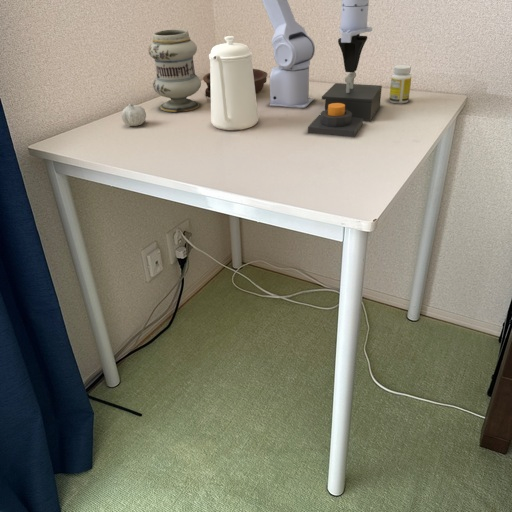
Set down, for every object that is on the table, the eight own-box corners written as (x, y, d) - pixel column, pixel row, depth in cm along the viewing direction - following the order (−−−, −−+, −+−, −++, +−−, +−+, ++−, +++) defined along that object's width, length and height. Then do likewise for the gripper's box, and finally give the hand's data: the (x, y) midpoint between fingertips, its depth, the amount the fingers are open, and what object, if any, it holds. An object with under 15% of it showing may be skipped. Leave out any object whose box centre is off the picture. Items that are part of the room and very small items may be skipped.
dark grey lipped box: (324, 118, 114) (325, 99, 112) (337, 103, 124) (338, 86, 121) (370, 122, 110) (371, 102, 108) (379, 106, 120) (381, 88, 118)
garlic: (134, 130, 112) (130, 107, 110) (118, 126, 115) (114, 104, 112) (152, 122, 117) (149, 100, 114) (136, 119, 119) (132, 98, 116)
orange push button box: (307, 133, 106) (308, 117, 104) (319, 121, 113) (319, 105, 111) (353, 137, 102) (354, 121, 100) (362, 124, 109) (363, 108, 107)
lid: (321, 99, 112) (322, 79, 110) (335, 86, 122) (336, 67, 119) (371, 102, 108) (373, 81, 106) (381, 88, 118) (383, 68, 115)
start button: (325, 116, 105) (326, 107, 104) (330, 111, 108) (330, 102, 107) (342, 117, 104) (343, 108, 103) (346, 112, 107) (346, 103, 105)
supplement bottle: (406, 98, 125) (411, 64, 121) (409, 103, 121) (414, 68, 117) (387, 98, 126) (391, 64, 121) (390, 104, 122) (393, 68, 117)
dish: (185, 97, 135) (183, 78, 132) (241, 81, 148) (240, 63, 146) (230, 107, 125) (229, 87, 122) (285, 89, 138) (285, 70, 135)
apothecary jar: (159, 116, 121) (147, 37, 111) (154, 103, 131) (142, 30, 121) (207, 110, 124) (200, 32, 114) (198, 98, 133) (191, 26, 124)
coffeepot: (195, 142, 104) (185, 47, 93) (225, 108, 124) (219, 28, 114) (245, 144, 101) (240, 47, 91) (267, 109, 122) (265, 27, 112)
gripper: (367, 9, 98) (361, 79, 105) (379, 1, 109) (374, 65, 117) (332, 9, 100) (329, 77, 108) (348, 1, 112) (345, 64, 119)
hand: (350, 71), depth 112 cm, fingers closed
